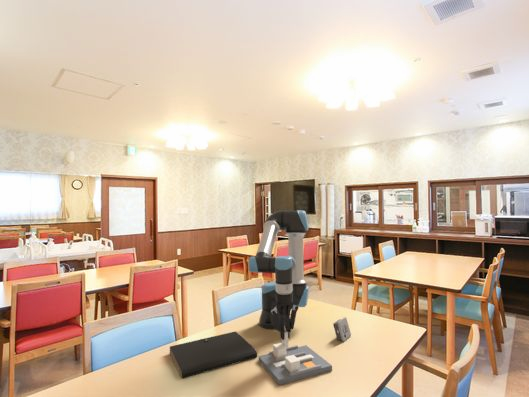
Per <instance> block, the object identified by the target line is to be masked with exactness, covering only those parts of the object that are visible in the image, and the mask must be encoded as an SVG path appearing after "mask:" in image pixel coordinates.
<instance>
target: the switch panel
mask: <svg viewBox="0 0 529 397" xmlns="http://www.w3.org/2000/svg"><path fill="white" fill-rule="evenodd" d="M291 355H294V356H295V357H297V358H298V359H299V360H300V370H298V371H294V372H289V371H288V370H287V369H286V367H285V357H287V356H291ZM257 357H258V362H259V363H260V365H261V366H262V367H263V368H264V369H265V370H266V372H267V373H268V374H269V375H270V376H271V377H272V379H273V380H274V381H275V382H276V384H277V385H278V386H281V385H284V384H285V385H286V384H289V383H292V382H295V381H299V380H304V379H307V378H311V377H313V376H316V375H321V374H324V373H329V372H332V371H333V365H332V364H331V363H329V362H328V361H327V360H326V359H325V358H324V357H322V356H321V355H319V354H318V353H317V352H315V351H314V349H312V348H310V346H308V345H307V344H305V345H301V346H298V344H297V345H293V346H288V347H287V348H286V356H284V357H280V358H277V357H276V356H275V355H274V354H273V350H271V351H269V352H268V353H265V354H261V355H257Z"/></svg>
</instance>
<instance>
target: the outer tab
mask: <svg viewBox="0 0 529 397" xmlns="http://www.w3.org/2000/svg"><path fill="white" fill-rule="evenodd" d="M285 367H286V369H287V370H288V371H289V372H294V371H298V370H300V360H299V359H298V358H297V357H295V356H294V355H291V356H287V357H285Z"/></svg>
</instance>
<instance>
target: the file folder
mask: <svg viewBox="0 0 529 397" xmlns="http://www.w3.org/2000/svg"><path fill="white" fill-rule="evenodd" d="M170 355H171V356H170ZM169 356H170V357H172V358H171V359H173V360H172V361H174V362H173V363H174V365H175V367H176V370H177V372H178V373H179V375H180V377H181V379H185V378H188V377H193V376H196V375H199V374H204V373H205V372H209V371H213V370H217V369H220V368H223V367H227V366H230V365H233V364H237V363H241V362H244V361H248V360H252V359H255V358H257V357H258V352H257V350H256V348H254V346H252V345H251V343H249V342H248V341H247V340H246V339H245V338H244V337H242V335H241V334H239V333H238V332H237V331H236V330H235V331H231V332H228V333H222V334H219V335H214V336H211V337H204V338H200V339H196V340H193V341H189V342H184V343H180V344H179V343H178V344H175V345H171V346H169Z"/></svg>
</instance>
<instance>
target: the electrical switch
mask: <svg viewBox="0 0 529 397" xmlns="http://www.w3.org/2000/svg"><path fill="white" fill-rule="evenodd" d="M332 325H333V328H334V332H335V337H336V340H337V341H341V342H342V343H343V342H346V341H347V340H348V339H349V338H350V337H351V336H352V333H351V329H350V326H349V323H348V319H347V317H342V318H341V319H338V320H337V321H335V322H333V324H332Z"/></svg>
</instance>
